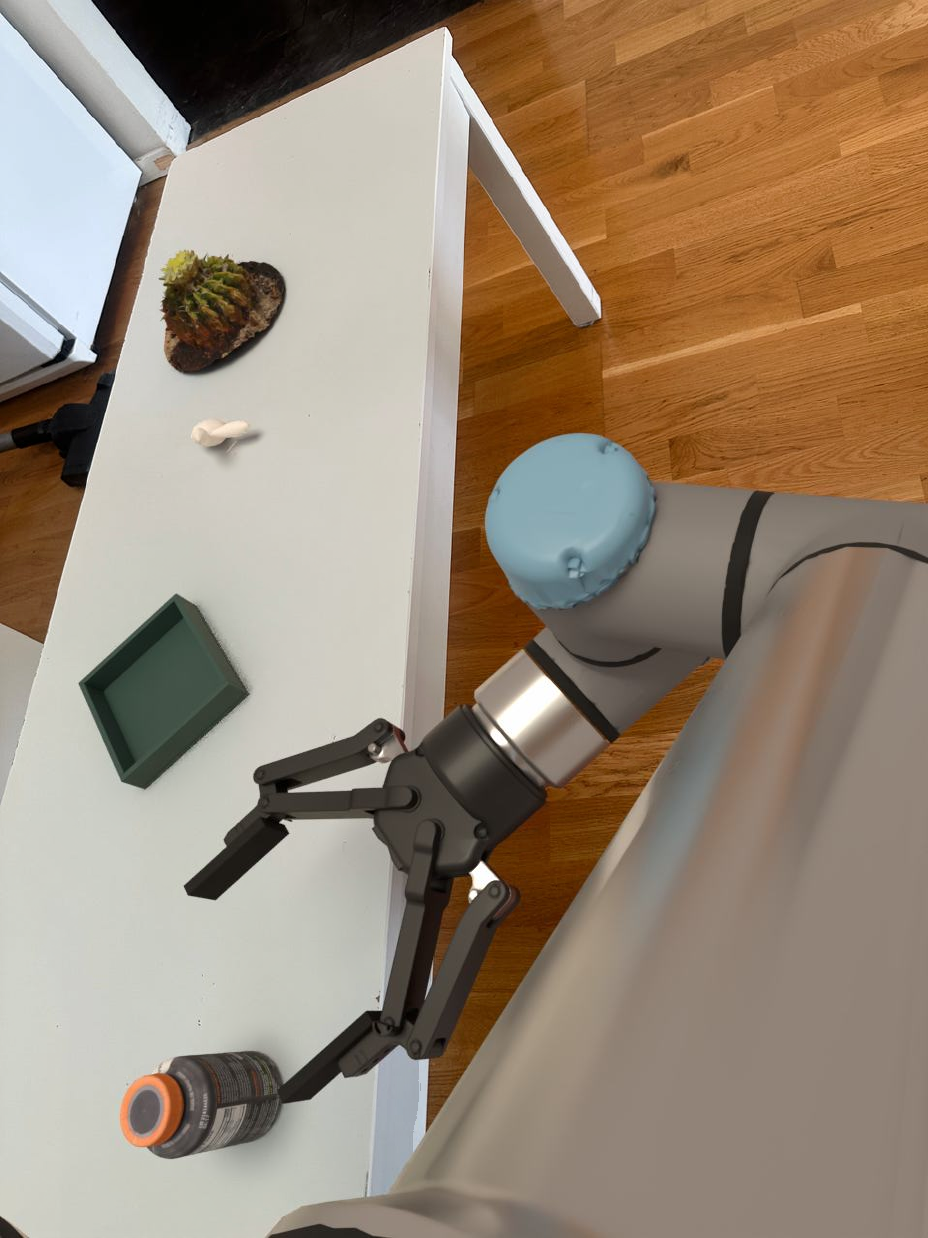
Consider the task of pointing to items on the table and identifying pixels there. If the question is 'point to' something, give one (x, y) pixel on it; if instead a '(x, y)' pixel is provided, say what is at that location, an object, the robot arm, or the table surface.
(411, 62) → the table surface
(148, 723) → the tray
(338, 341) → the table surface
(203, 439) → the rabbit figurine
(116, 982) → the table surface
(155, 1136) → the pill bottle
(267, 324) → the cactus
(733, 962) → the robot arm
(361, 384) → the table surface
